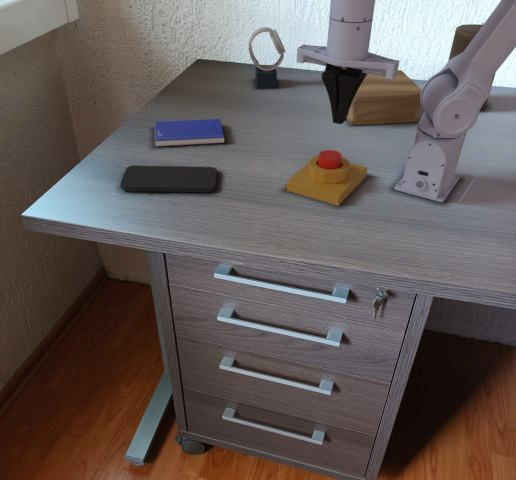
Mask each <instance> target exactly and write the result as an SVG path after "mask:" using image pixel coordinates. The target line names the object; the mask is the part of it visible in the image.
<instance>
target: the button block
mask: <svg viewBox="0 0 516 480" xmlns="http://www.w3.org/2000/svg"><path fill="white" fill-rule="evenodd" d="M318 158H319V154H317V155H314V156H312V157H311V158H310V159H309V160H308V163H307V164H306V165H304V166H303V167H302V168H301V169H300V170H298V171H297V172H296V173H295V174H294V175H292V176H291V177H290V178H289V179H288V180H286V181H287V182H286V191H287V192H290V193H293V194H294V193H295V194H298V195H301V196H305V197H308V198H311V199H315V200H318V201H321V202H325V203H328V204H331V205H335V206H339V205H341V203H343V202H344V200H345V199H346V198H347V197H348V196H349V195H350V194H351V193H352V192H353V191H354V190H355V189H356V188H357V187H358V186H359V185H360V184H361V183H362V182H363V180H365V179H366V177H367V173H368V167H367V166H364V165H359V164H355V163H352V162H350V161H349V159H347V158H345V157H344V156H342V159H341V167H340V168H338V169H324V168H320V167H319V166H318Z"/></svg>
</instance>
